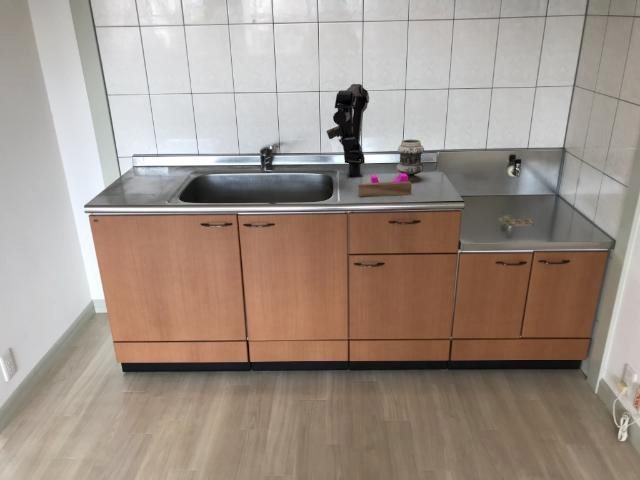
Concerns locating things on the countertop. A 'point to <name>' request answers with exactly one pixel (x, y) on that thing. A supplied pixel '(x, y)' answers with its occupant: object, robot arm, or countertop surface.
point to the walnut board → (384, 189)
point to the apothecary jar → (410, 158)
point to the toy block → (401, 178)
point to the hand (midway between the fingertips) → (346, 156)
